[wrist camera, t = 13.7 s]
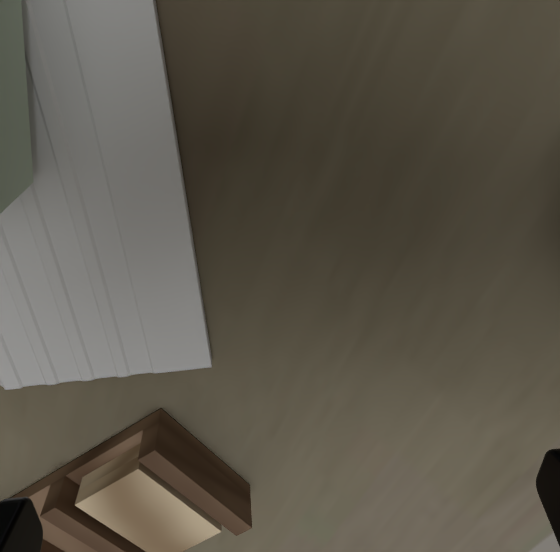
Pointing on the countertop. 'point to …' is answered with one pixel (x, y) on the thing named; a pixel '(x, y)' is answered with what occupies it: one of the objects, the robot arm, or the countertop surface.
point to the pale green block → (13, 107)
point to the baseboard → (98, 207)
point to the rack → (159, 459)
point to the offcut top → (146, 510)
